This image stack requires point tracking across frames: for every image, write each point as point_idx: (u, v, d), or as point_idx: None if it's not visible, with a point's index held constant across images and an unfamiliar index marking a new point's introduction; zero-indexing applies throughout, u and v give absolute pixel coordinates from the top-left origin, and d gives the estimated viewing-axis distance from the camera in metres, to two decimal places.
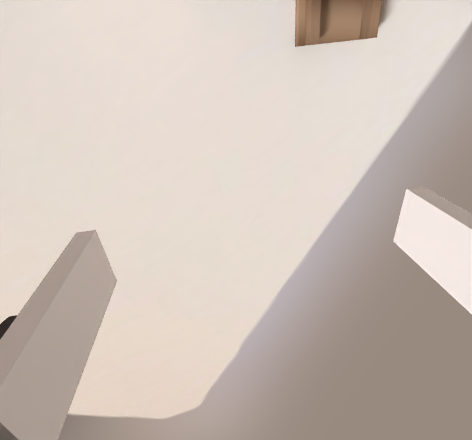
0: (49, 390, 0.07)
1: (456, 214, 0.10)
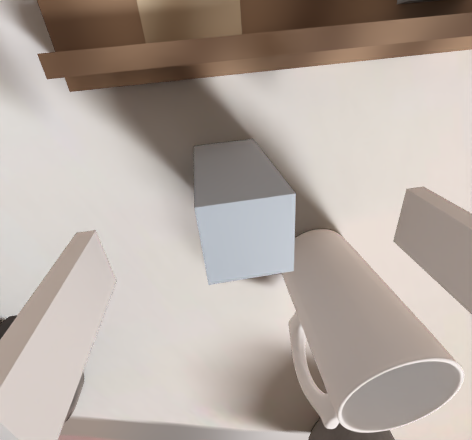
0: (49, 390, 0.07)
1: (456, 214, 0.10)
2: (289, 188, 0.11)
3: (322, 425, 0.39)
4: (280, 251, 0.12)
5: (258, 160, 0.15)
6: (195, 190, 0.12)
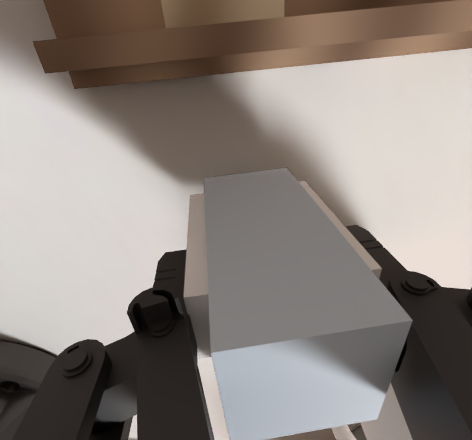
0: None
1: None
2: (391, 300, 0.06)
3: None
4: (361, 398, 0.07)
5: (307, 215, 0.09)
6: (210, 291, 0.07)
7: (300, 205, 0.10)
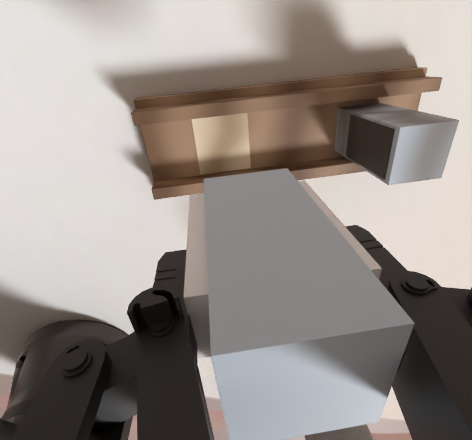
0: None
1: None
2: (393, 303, 0.06)
3: None
4: (362, 401, 0.07)
5: (308, 216, 0.09)
6: (210, 293, 0.07)
7: (301, 206, 0.10)
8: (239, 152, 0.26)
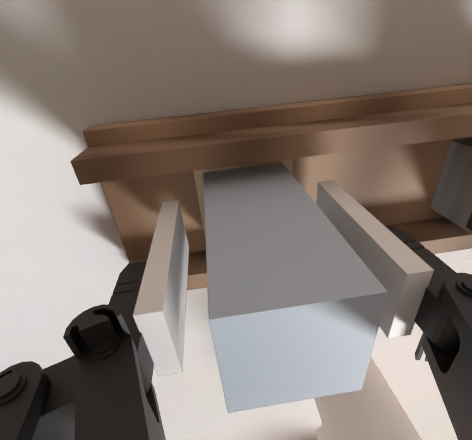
0: (177, 315, 0.09)
1: (345, 203, 0.11)
2: (371, 276, 0.07)
3: None
4: (346, 368, 0.07)
5: (299, 204, 0.10)
6: (209, 270, 0.07)
7: (293, 196, 0.10)
8: None
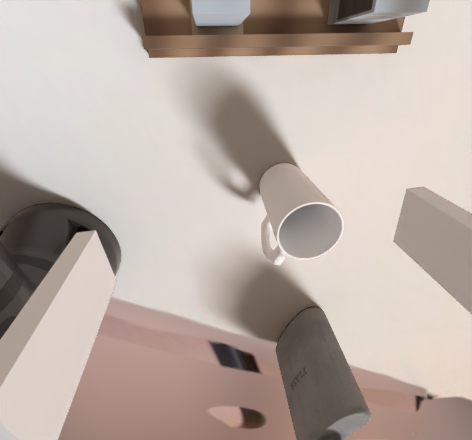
0: (49, 390, 0.07)
1: (456, 214, 0.10)
2: None
3: (286, 332, 0.52)
4: None
5: None
6: None
7: None
8: None
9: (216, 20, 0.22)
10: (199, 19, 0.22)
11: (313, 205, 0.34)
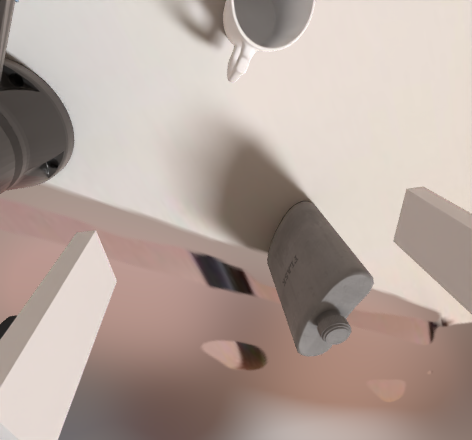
0: (49, 390, 0.07)
1: (456, 214, 0.10)
2: None
3: (276, 235, 0.46)
4: None
5: None
6: None
7: None
8: None
9: None
10: None
11: (285, 21, 0.28)
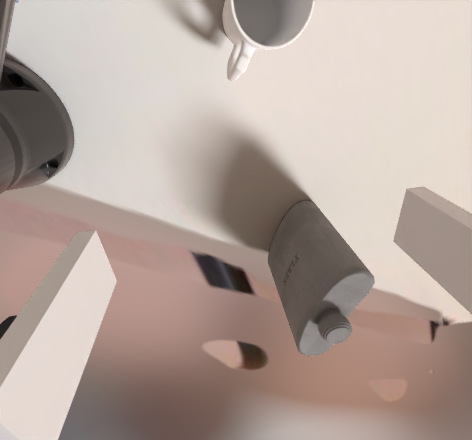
0: (49, 390, 0.07)
1: (456, 214, 0.10)
2: None
3: (276, 235, 0.46)
4: None
5: None
6: None
7: None
8: None
9: None
10: None
11: (284, 20, 0.28)
